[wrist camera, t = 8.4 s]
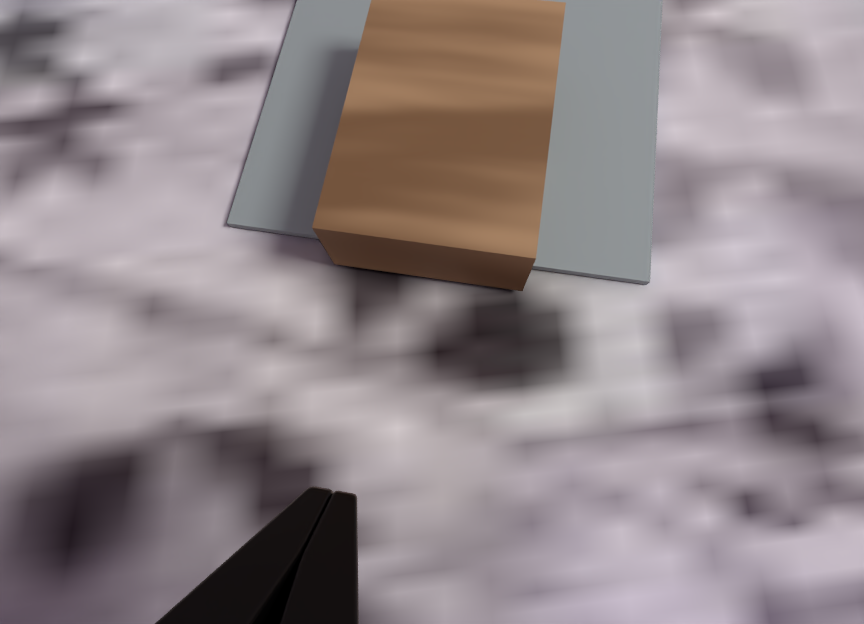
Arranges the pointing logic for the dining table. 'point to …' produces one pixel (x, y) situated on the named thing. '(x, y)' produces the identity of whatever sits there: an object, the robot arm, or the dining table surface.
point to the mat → (568, 149)
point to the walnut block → (445, 141)
